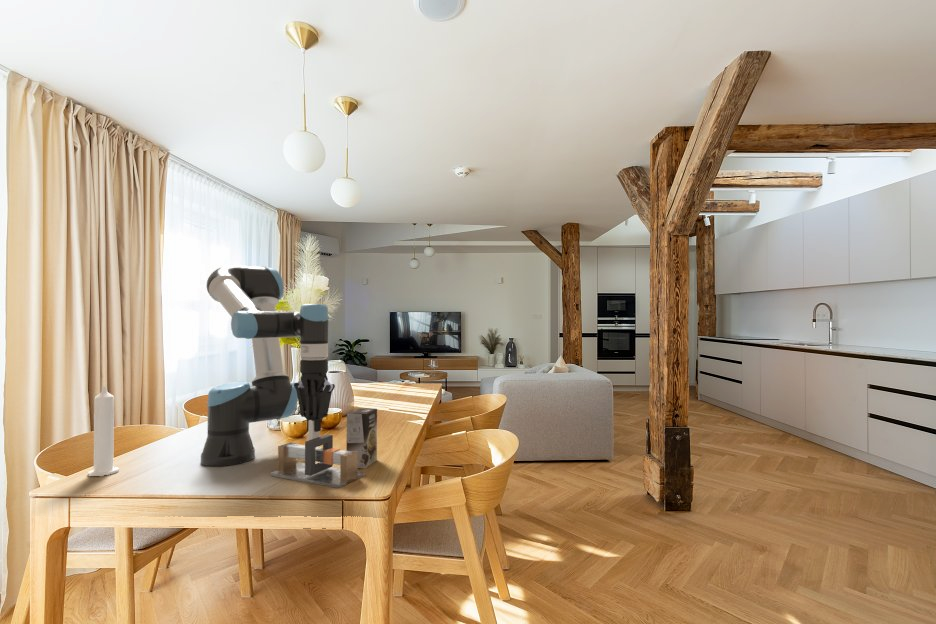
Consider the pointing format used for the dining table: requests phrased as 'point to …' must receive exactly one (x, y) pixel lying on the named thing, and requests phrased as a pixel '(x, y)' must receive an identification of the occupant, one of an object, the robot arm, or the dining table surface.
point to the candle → (103, 434)
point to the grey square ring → (310, 454)
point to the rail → (325, 455)
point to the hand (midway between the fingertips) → (313, 442)
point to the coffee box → (363, 435)
